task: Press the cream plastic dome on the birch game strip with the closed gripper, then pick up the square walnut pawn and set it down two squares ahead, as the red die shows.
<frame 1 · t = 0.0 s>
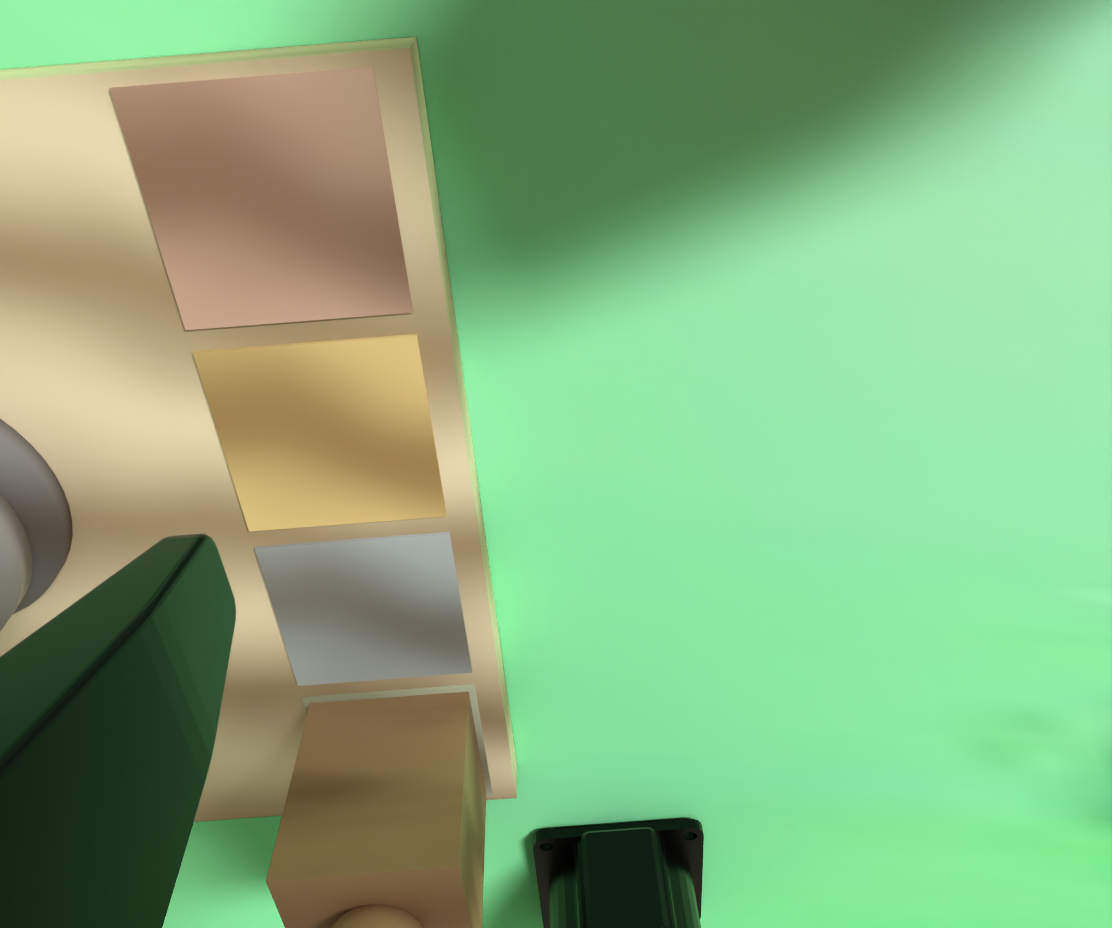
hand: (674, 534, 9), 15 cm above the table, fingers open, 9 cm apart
game board: (168, 513, 26), on the table
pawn: (401, 750, 30), point 2 cm above the table, touching game board
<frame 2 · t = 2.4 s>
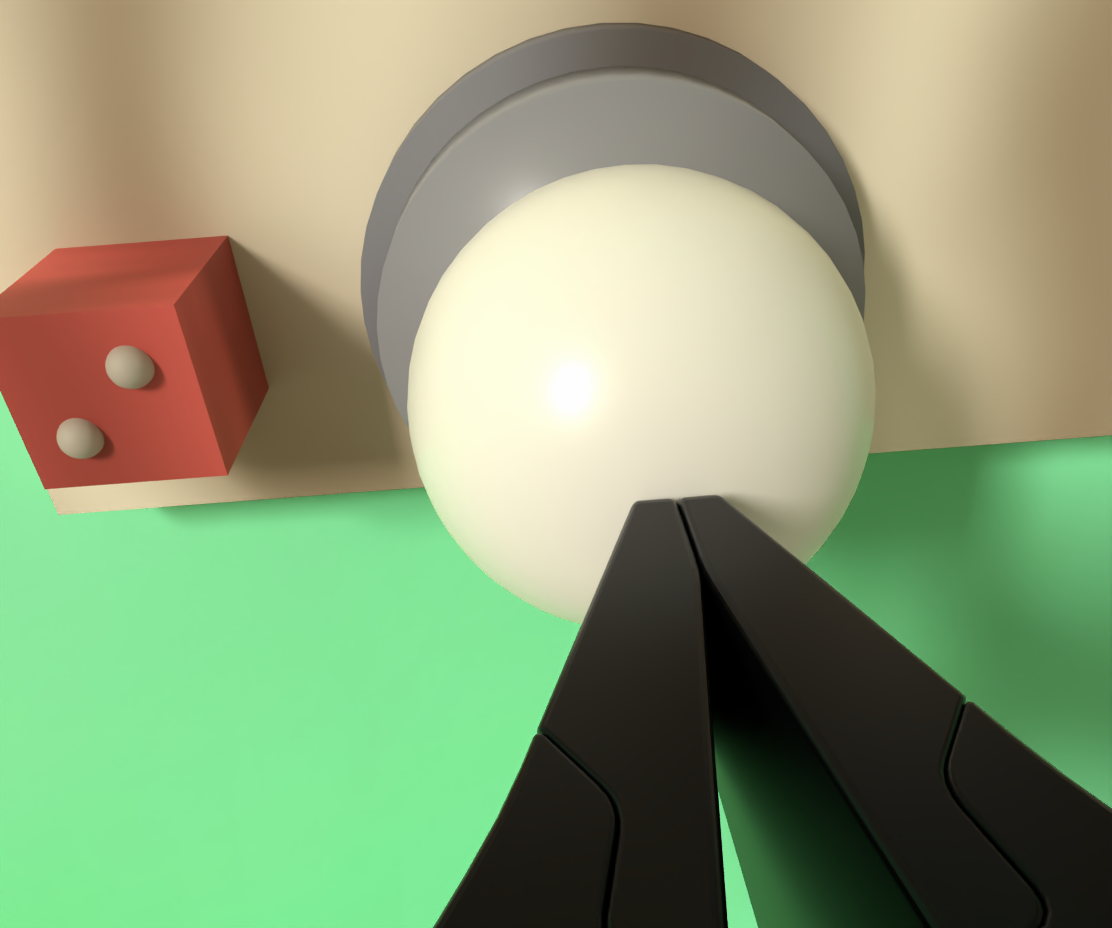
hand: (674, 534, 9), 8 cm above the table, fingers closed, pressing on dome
dome: (636, 402, 11), point 5 cm above the table, slide at 0.6 cm, touching gripper
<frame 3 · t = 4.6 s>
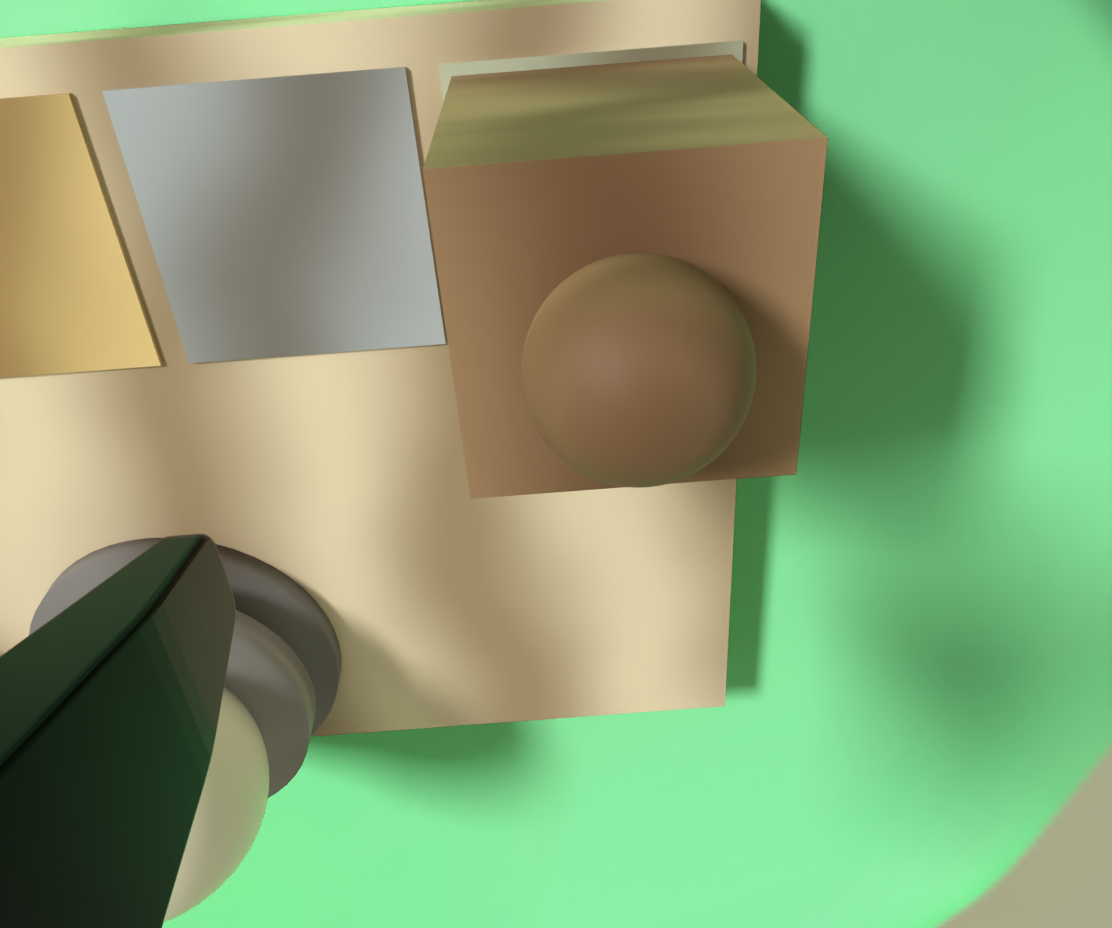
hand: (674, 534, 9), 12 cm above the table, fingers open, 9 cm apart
dome: (137, 791, 20), point 6 cm above the table, slide at 0.0 cm
game board: (229, 438, 22), on the table
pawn: (597, 204, 18), point 2 cm above the table, touching game board
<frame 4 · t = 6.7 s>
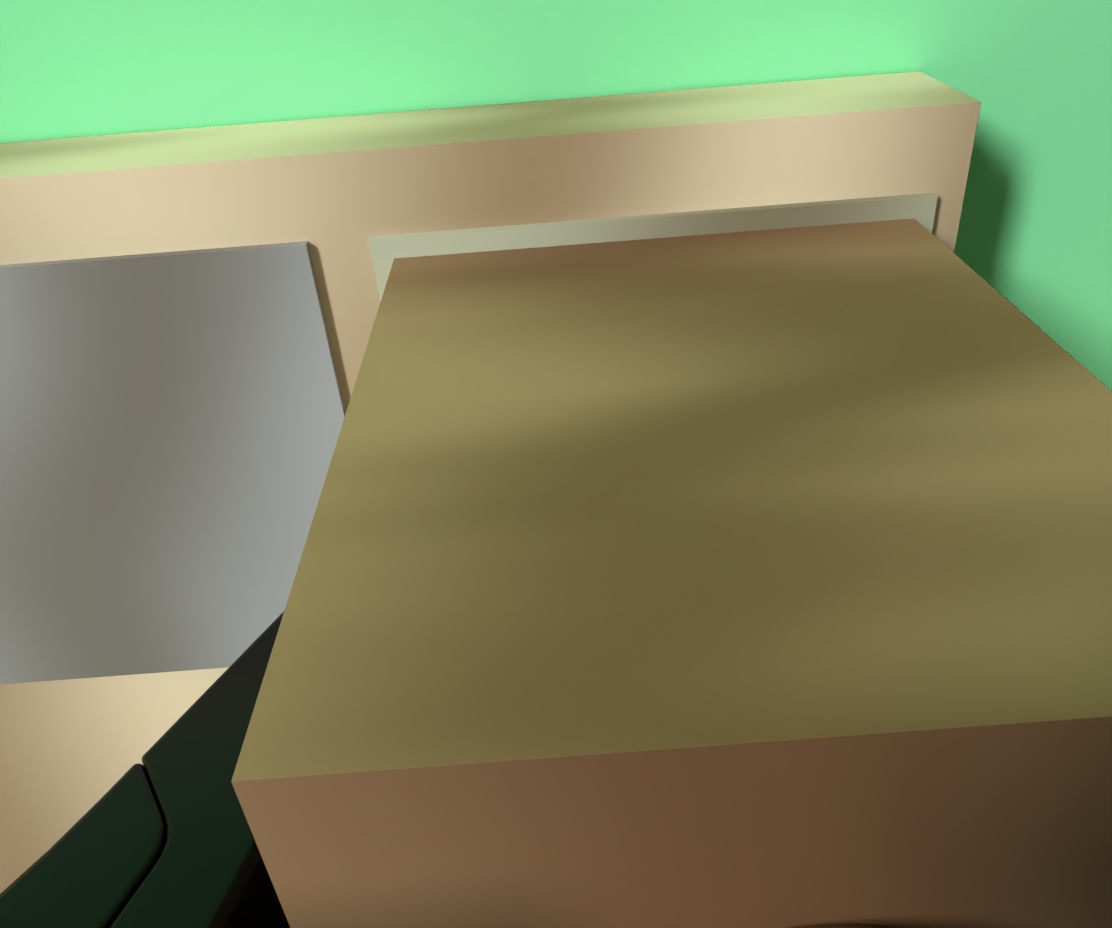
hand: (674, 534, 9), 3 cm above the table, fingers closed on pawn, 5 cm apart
game board: (79, 735, 15), on the table
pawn: (655, 457, 10), point 2 cm above the table, touching game board, gripper
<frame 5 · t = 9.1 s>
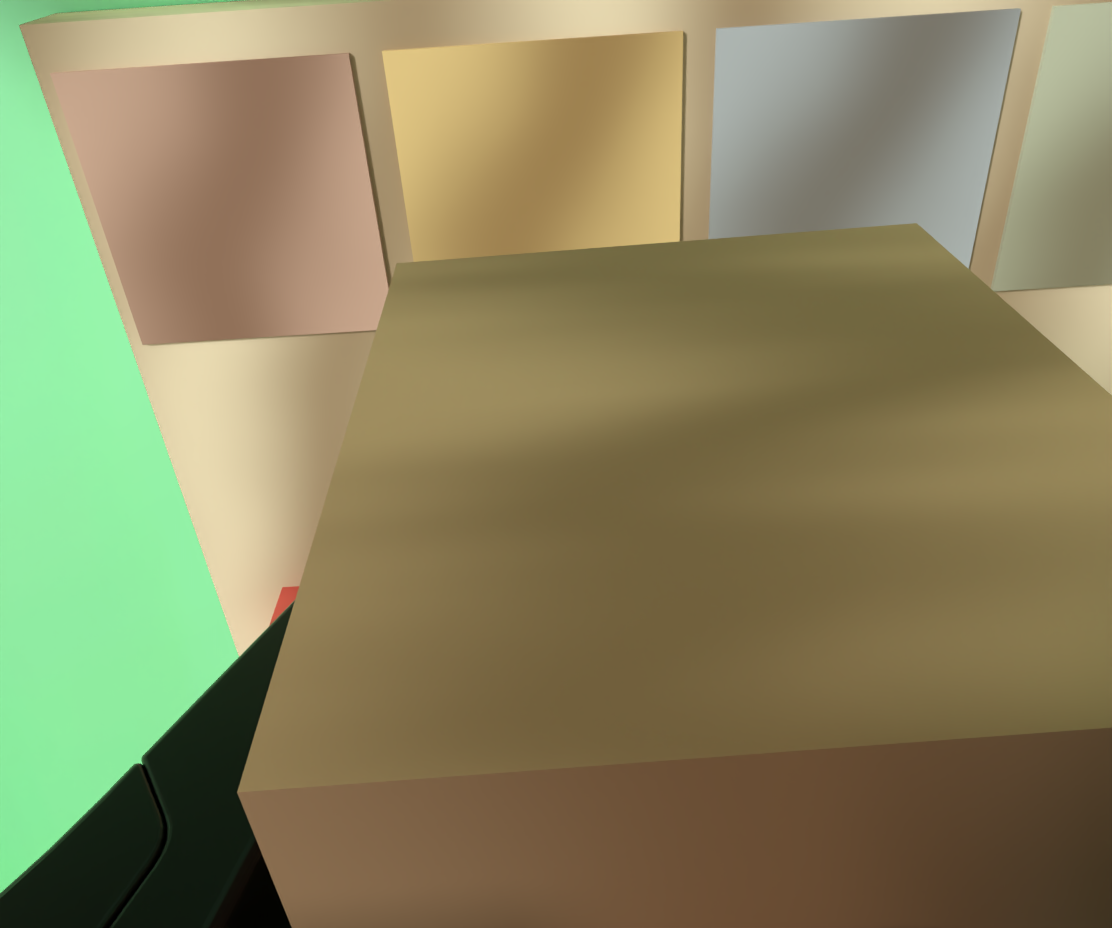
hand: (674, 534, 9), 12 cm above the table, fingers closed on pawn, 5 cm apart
game board: (679, 389, 22), on the table
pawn: (657, 461, 10), point 11 cm above the table, touching gripper
when the fingers open (4 cm above the table, at t = 11.5 s): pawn drops 1 cm, resting on game board.
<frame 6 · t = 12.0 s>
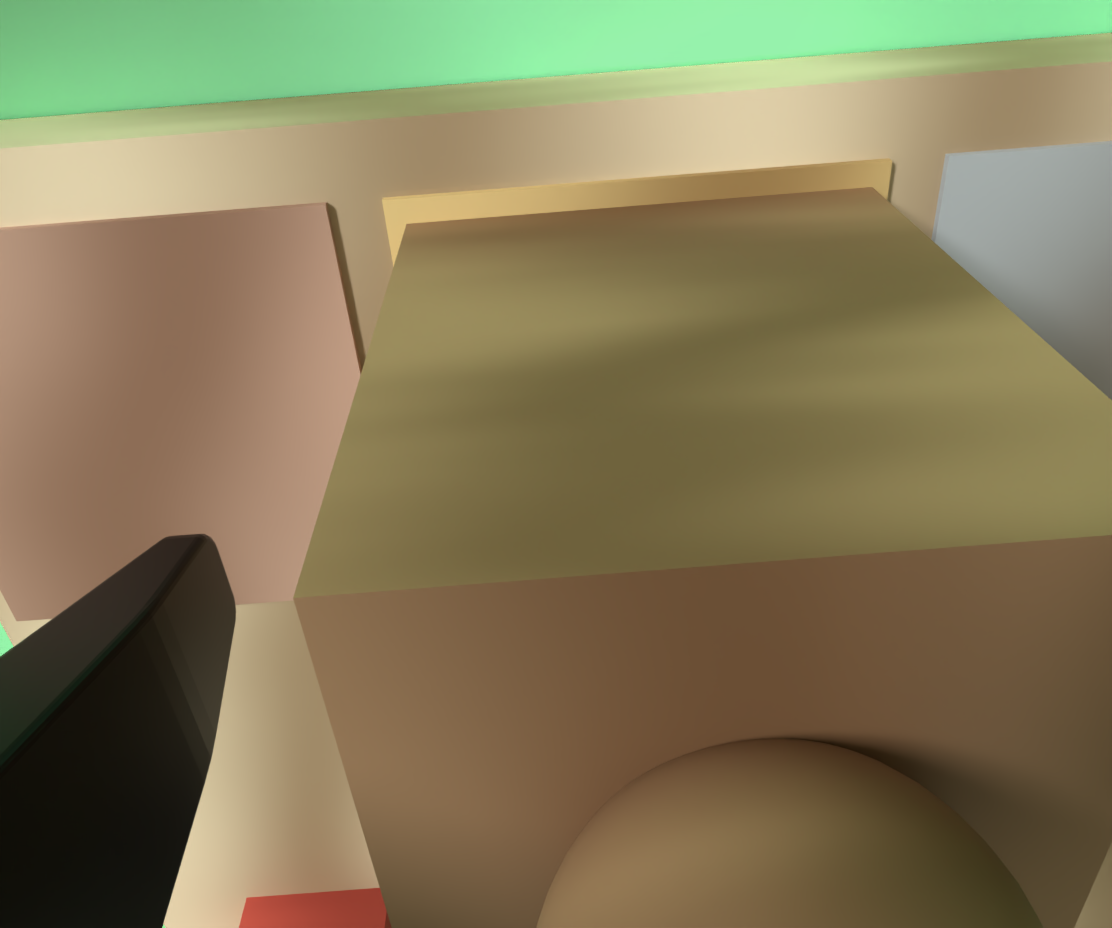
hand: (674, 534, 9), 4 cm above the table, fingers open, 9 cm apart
game board: (811, 626, 15), on the table
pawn: (642, 407, 11), point 2 cm above the table, touching game board
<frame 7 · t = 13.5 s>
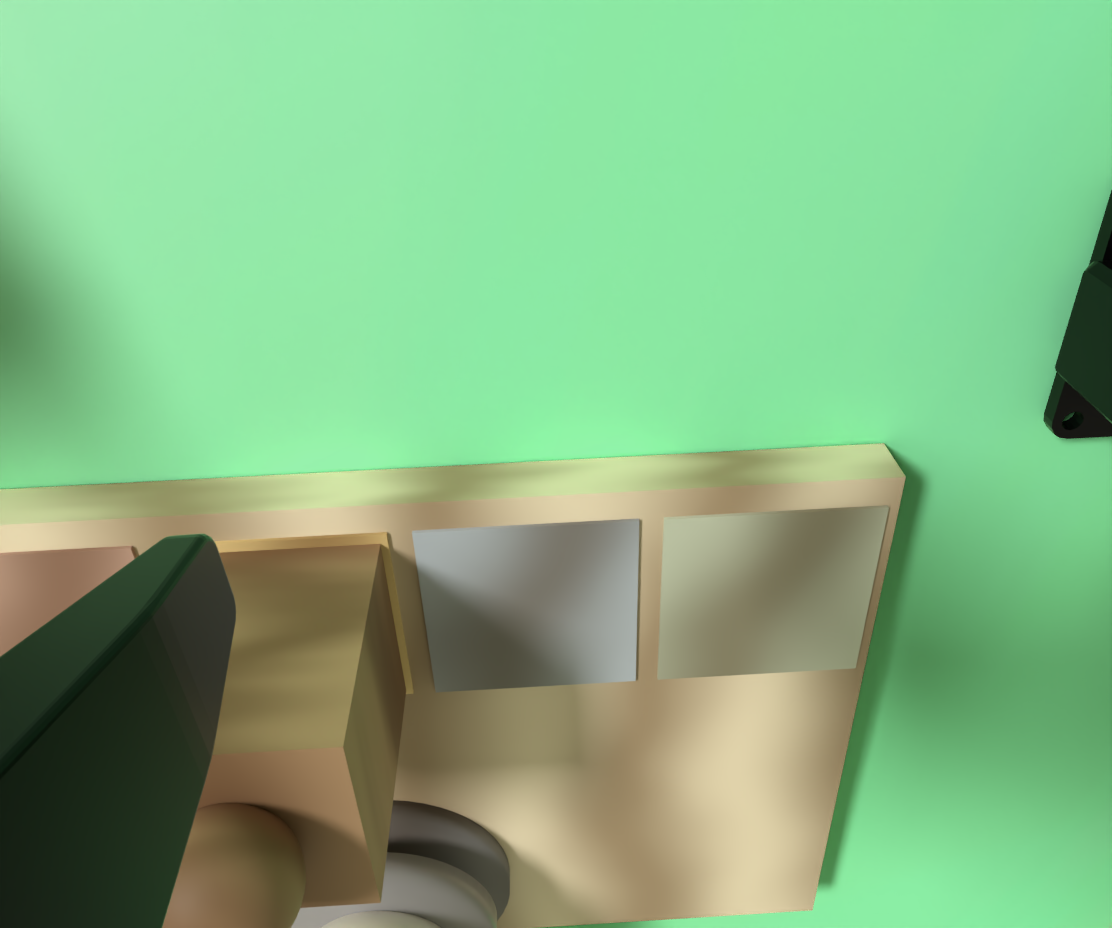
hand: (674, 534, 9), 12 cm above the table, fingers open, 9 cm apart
game board: (438, 717, 27), on the table
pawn: (294, 627, 23), point 2 cm above the table, touching game board
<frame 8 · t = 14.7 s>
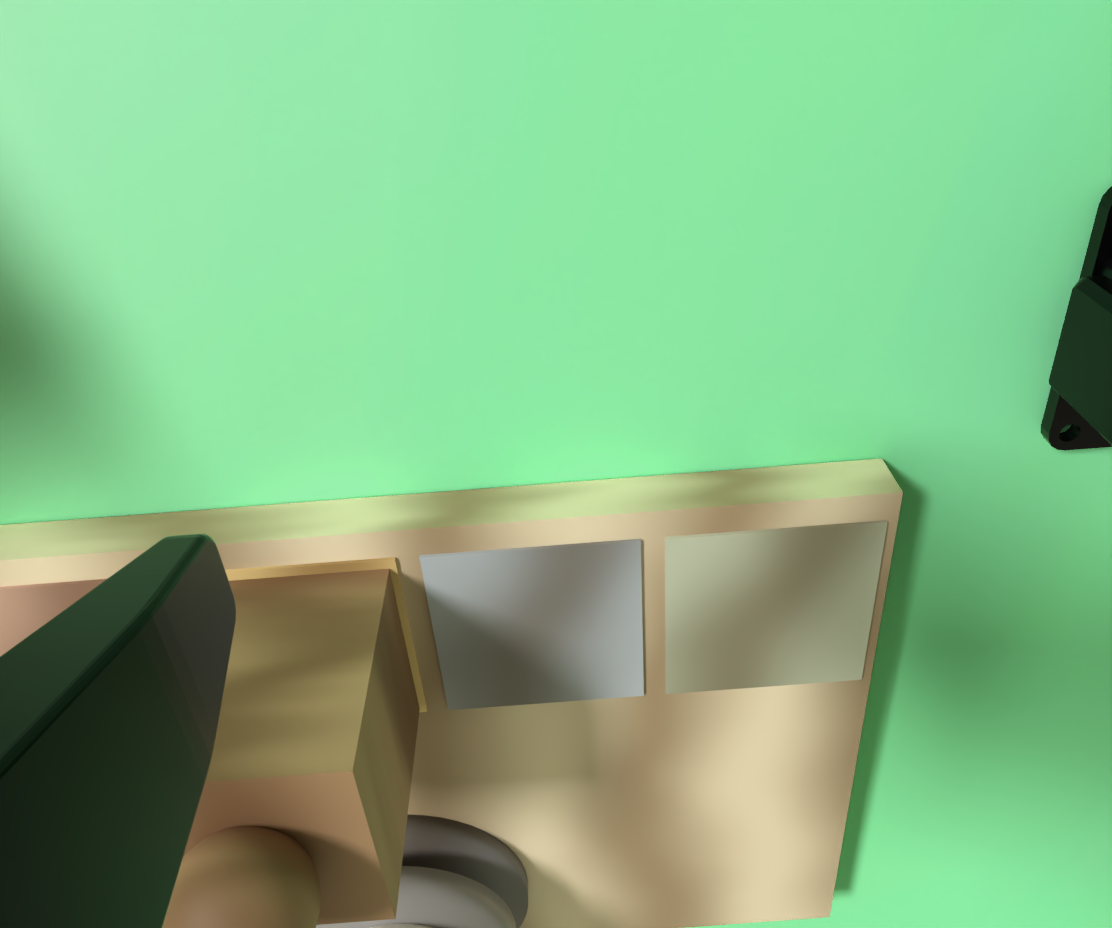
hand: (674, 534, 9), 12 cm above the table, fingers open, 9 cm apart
game board: (453, 733, 28), on the table
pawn: (309, 650, 24), point 2 cm above the table, touching game board
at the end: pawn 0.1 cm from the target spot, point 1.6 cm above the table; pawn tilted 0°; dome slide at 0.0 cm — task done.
